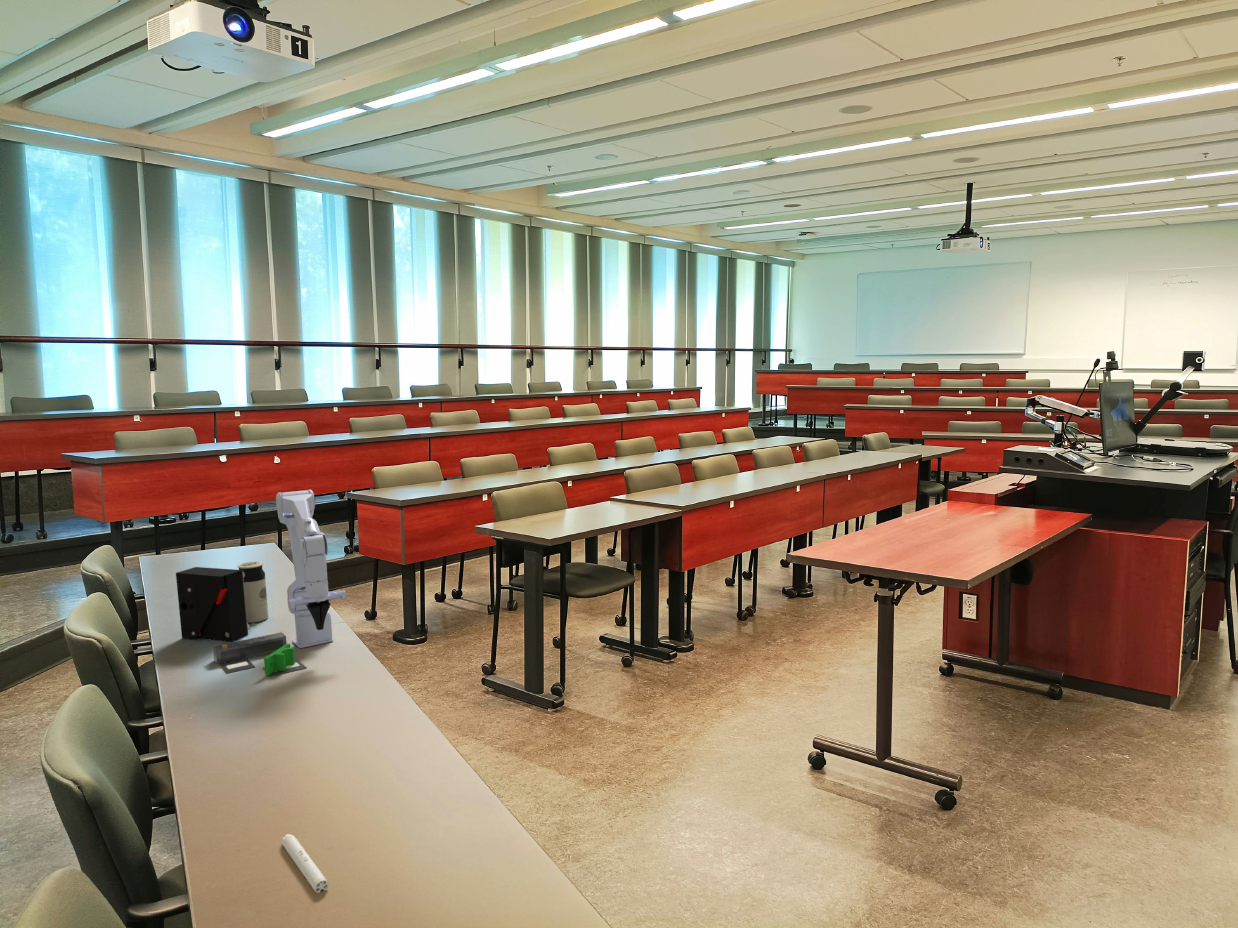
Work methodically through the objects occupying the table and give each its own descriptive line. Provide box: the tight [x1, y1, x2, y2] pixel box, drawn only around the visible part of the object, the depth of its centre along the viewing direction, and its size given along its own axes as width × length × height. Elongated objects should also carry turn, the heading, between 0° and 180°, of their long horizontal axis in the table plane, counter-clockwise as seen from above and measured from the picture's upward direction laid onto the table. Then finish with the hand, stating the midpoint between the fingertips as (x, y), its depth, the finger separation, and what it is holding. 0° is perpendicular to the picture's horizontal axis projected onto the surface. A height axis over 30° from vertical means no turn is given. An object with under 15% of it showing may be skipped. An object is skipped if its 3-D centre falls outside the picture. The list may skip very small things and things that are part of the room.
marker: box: [281, 833, 329, 894], centre depth 131 cm, size 18×2×2 cm, turn 38°
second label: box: [262, 659, 307, 677], centre depth 219 cm, size 9×8×1 cm
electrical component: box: [175, 566, 251, 643], centre depth 247 cm, size 18×10×20 cm, turn 71°
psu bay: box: [212, 631, 288, 665], centre depth 230 cm, size 18×5×4 cm, turn 126°
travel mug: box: [236, 561, 269, 624], centre depth 263 cm, size 8×8×18 cm
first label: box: [219, 658, 256, 674], centre depth 222 cm, size 7×8×1 cm
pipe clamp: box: [263, 643, 296, 676], centre depth 219 cm, size 11×4×5 cm, turn 173°
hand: (319, 628), depth 224 cm, fingers closed
